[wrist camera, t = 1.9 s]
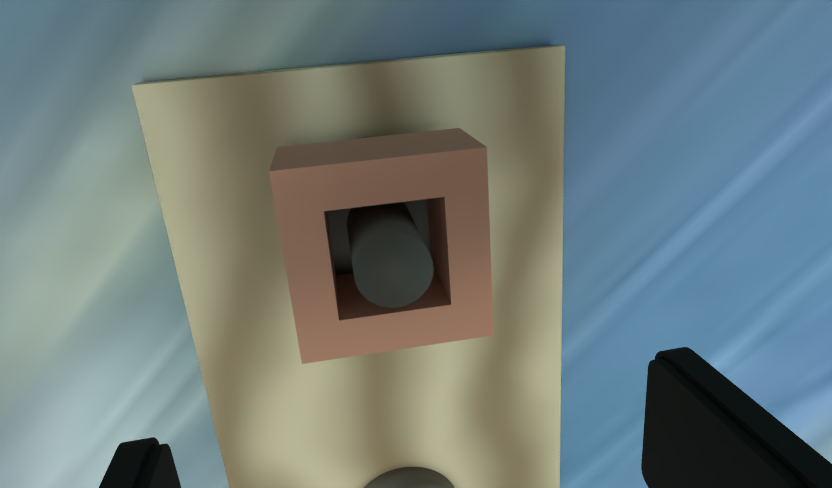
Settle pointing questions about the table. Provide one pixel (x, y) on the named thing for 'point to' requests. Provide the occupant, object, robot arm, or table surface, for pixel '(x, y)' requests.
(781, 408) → the table surface
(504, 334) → the board
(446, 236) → the collar
